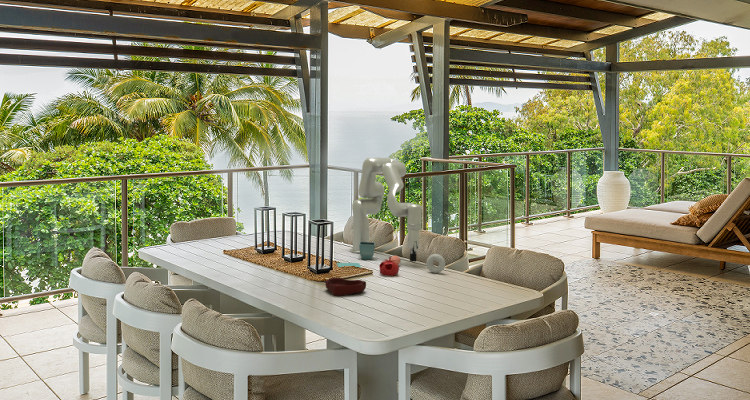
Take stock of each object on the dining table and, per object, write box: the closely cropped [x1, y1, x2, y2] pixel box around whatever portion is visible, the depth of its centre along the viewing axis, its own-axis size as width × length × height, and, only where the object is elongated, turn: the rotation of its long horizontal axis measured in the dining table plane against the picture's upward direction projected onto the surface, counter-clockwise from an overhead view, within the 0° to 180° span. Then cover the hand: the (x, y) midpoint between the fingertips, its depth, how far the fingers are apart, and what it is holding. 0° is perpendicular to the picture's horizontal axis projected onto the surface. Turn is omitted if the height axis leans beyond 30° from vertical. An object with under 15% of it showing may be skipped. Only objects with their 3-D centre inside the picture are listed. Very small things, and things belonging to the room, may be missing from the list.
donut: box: [425, 253, 446, 274], centre depth 341 cm, size 10×4×10 cm, turn 69°
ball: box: [390, 255, 401, 266], centre depth 356 cm, size 6×6×6 cm
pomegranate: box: [378, 256, 400, 277], centre depth 333 cm, size 10×10×9 cm
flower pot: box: [359, 241, 376, 261], centre depth 373 cm, size 9×9×9 cm
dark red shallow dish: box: [324, 277, 367, 297], centre depth 292 cm, size 18×16×5 cm
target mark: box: [336, 262, 362, 269], centre depth 353 cm, size 12×12×1 cm
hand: (413, 261), depth 357 cm, fingers closed
